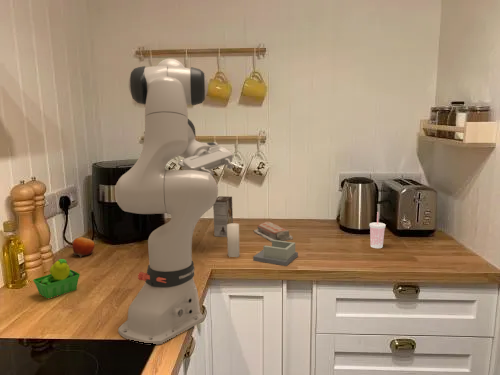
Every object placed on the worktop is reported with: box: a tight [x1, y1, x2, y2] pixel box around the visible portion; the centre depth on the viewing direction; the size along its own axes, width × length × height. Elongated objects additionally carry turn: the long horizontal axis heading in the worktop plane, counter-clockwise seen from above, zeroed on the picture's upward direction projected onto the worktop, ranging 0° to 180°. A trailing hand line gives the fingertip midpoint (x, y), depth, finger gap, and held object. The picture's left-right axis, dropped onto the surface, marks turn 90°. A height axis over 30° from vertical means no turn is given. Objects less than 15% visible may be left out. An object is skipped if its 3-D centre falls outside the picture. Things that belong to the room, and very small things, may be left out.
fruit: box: [71, 236, 95, 259], centre depth 161 cm, size 8×8×8 cm
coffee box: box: [212, 195, 234, 238], centre depth 185 cm, size 9×6×16 cm
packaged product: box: [253, 221, 294, 243], centre depth 183 cm, size 18×5×10 cm
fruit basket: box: [32, 258, 81, 299], centre depth 127 cm, size 11×9×11 cm
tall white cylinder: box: [226, 222, 240, 258], centre depth 157 cm, size 4×4×12 cm
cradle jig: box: [252, 240, 299, 267], centre depth 154 cm, size 11×13×6 cm
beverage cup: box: [368, 211, 387, 249], centre depth 165 cm, size 6×6×14 cm
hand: (222, 170), depth 153 cm, fingers open, 8 cm apart
